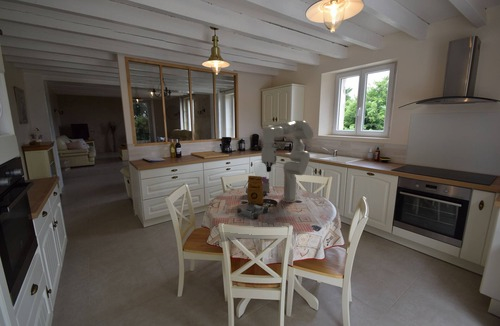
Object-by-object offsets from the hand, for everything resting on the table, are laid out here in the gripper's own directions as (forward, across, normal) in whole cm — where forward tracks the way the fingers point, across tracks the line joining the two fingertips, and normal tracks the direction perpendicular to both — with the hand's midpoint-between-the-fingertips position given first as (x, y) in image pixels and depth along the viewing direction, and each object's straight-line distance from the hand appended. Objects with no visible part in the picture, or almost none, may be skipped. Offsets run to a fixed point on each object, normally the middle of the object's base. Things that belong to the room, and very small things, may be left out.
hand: (268, 171), depth 155 cm
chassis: (+28, +6, +12) cm, 31 cm away
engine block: (+27, +6, +15) cm, 31 cm away
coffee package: (+29, +16, -5) cm, 33 cm away
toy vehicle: (+30, +25, -22) cm, 45 cm away
